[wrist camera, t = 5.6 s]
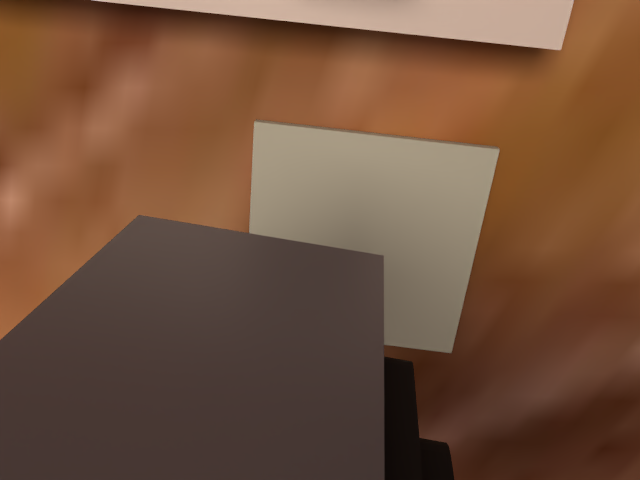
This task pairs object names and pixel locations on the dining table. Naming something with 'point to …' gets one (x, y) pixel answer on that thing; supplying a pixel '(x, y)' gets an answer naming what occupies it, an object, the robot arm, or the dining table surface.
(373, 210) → the felt pad
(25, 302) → the dining table surface
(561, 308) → the dining table surface
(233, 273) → the block
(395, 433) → the robot arm
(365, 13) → the power strip
